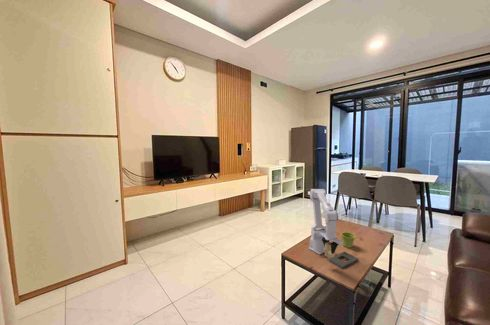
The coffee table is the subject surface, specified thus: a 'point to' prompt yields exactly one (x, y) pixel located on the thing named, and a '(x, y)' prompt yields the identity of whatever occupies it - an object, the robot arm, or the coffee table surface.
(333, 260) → the slotted plate
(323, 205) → the robot arm
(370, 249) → the coffee table surface
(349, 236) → the plant pot
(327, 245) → the birch peg
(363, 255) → the coffee table surface
